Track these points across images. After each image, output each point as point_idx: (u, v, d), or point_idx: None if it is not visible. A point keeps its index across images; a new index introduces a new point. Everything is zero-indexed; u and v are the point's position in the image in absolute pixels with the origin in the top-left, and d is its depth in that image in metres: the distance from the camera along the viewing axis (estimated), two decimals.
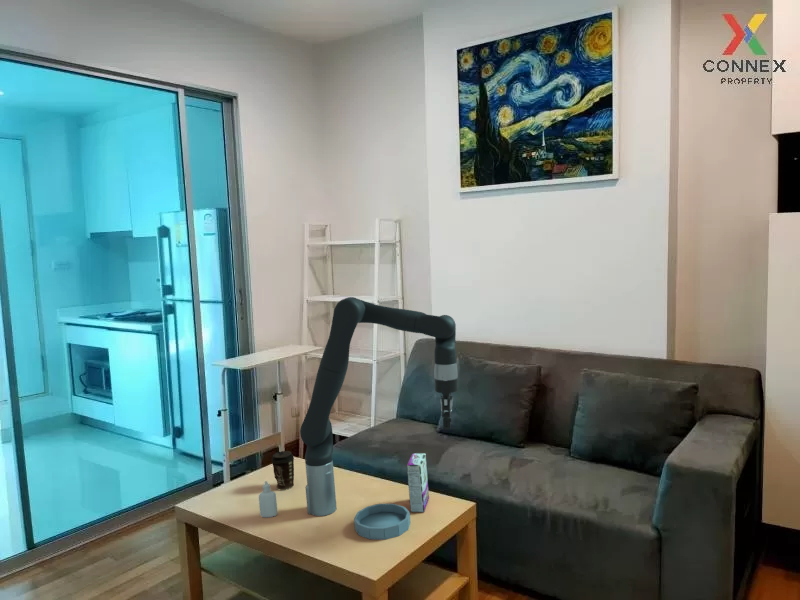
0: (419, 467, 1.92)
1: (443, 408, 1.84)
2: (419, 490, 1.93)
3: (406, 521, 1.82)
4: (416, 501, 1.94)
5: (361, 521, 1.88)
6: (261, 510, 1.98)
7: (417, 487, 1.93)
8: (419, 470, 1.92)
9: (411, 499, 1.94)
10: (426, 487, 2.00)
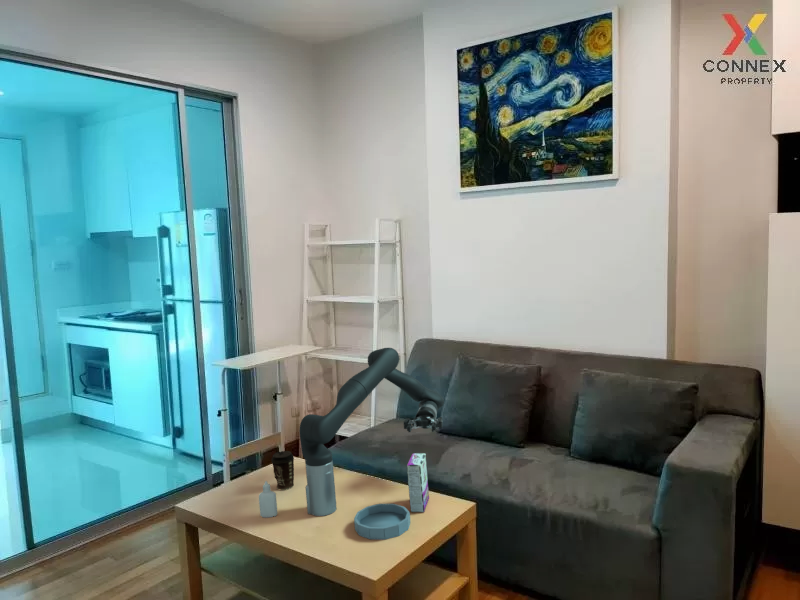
0: (419, 467, 1.92)
1: (441, 420, 2.17)
2: (419, 490, 1.93)
3: (406, 521, 1.82)
4: (416, 501, 1.94)
5: (361, 521, 1.88)
6: (261, 510, 1.98)
7: (417, 487, 1.93)
8: (419, 470, 1.92)
9: (411, 499, 1.94)
10: (426, 487, 2.00)
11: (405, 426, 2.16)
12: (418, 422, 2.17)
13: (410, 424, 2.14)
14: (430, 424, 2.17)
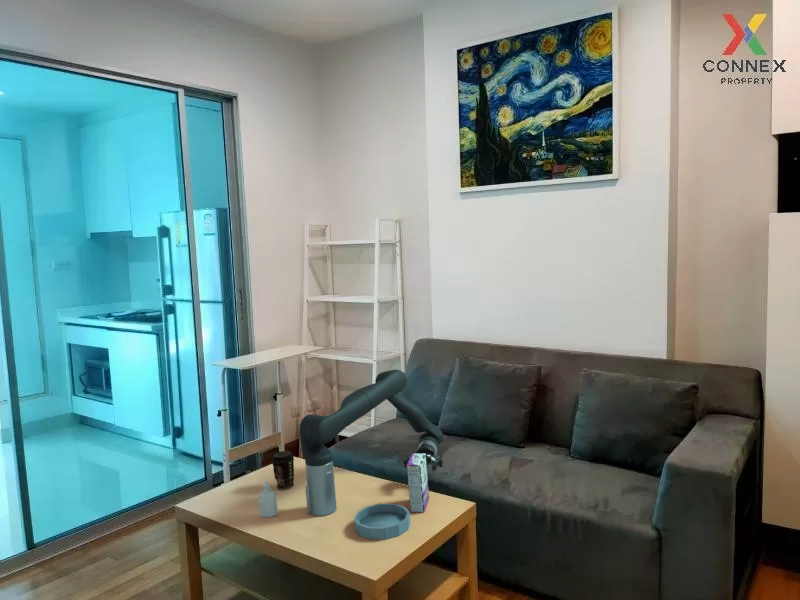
0: (419, 467, 1.92)
1: (442, 458, 2.15)
2: (419, 490, 1.93)
3: (406, 521, 1.82)
4: (416, 501, 1.94)
5: (361, 521, 1.88)
6: (261, 510, 1.98)
7: (417, 487, 1.93)
8: (419, 470, 1.92)
9: (411, 499, 1.94)
10: (426, 487, 2.00)
11: (405, 464, 2.14)
12: None
13: None
14: (430, 462, 2.14)
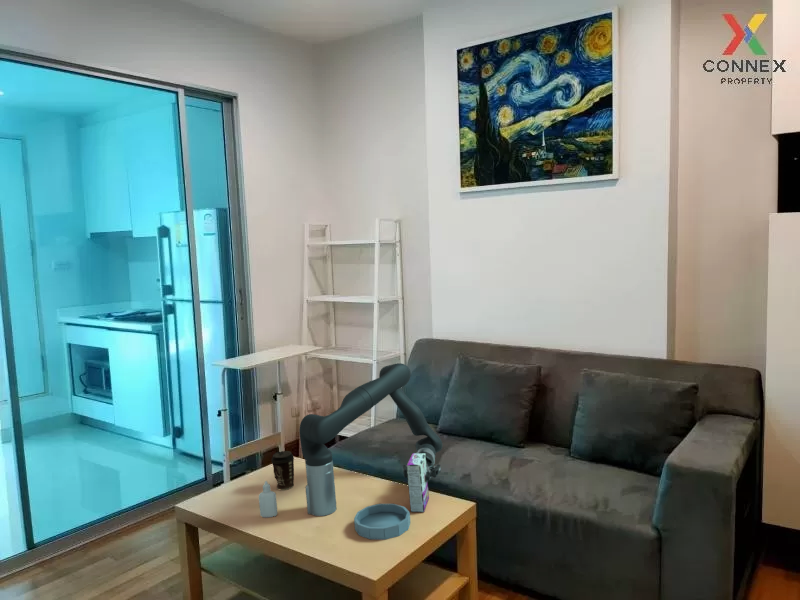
0: (419, 467, 1.92)
1: (438, 468, 2.05)
2: (419, 490, 1.93)
3: (406, 521, 1.82)
4: (416, 501, 1.94)
5: (361, 521, 1.88)
6: (261, 510, 1.98)
7: (417, 487, 1.93)
8: (419, 470, 1.92)
9: (411, 499, 1.94)
10: (426, 487, 2.00)
11: (406, 475, 2.04)
12: None
13: None
14: None
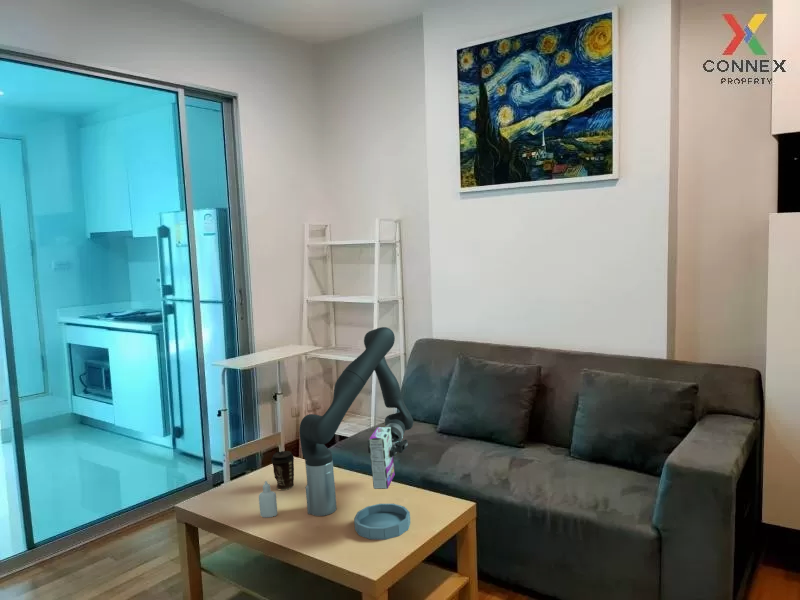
0: (382, 440, 1.80)
1: (404, 443, 1.92)
2: (382, 465, 1.80)
3: (406, 521, 1.82)
4: (379, 477, 1.81)
5: (361, 521, 1.88)
6: (261, 510, 1.98)
7: (380, 462, 1.80)
8: (382, 444, 1.80)
9: (374, 475, 1.81)
10: (391, 463, 1.87)
11: None
12: None
13: None
14: None
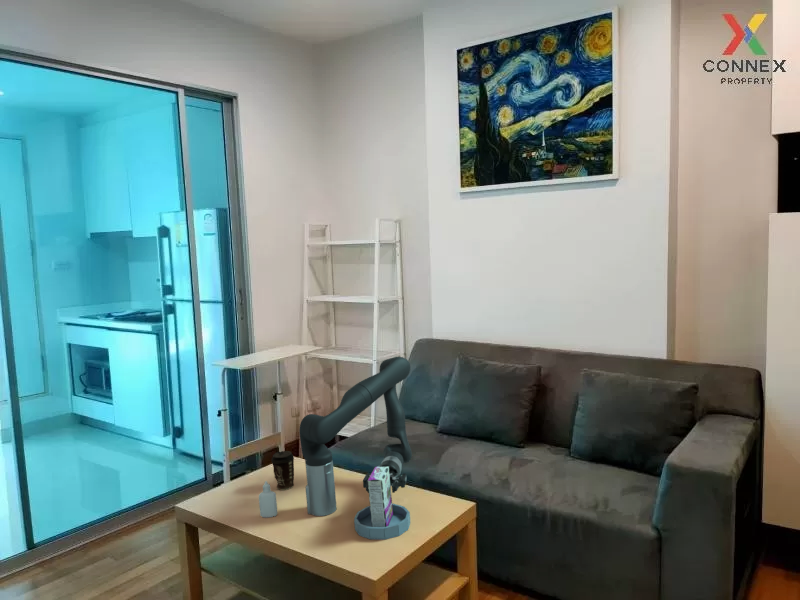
0: (381, 482, 1.79)
1: (405, 478, 1.92)
2: (380, 507, 1.80)
3: (406, 521, 1.82)
4: (378, 519, 1.81)
5: (361, 521, 1.88)
6: (261, 510, 1.98)
7: (379, 503, 1.80)
8: (381, 485, 1.80)
9: (372, 516, 1.81)
10: (389, 503, 1.87)
11: (365, 485, 1.92)
12: None
13: None
14: (392, 482, 1.92)
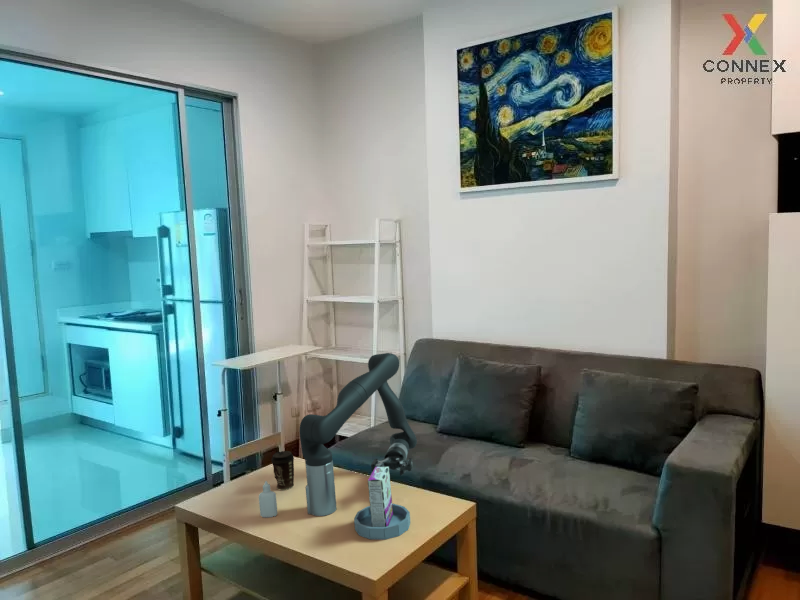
0: (381, 482, 1.79)
1: (411, 462, 2.06)
2: (381, 507, 1.80)
3: (406, 521, 1.82)
4: (378, 519, 1.81)
5: (361, 521, 1.88)
6: (261, 510, 1.98)
7: (379, 503, 1.80)
8: (381, 485, 1.80)
9: (372, 516, 1.81)
10: (389, 503, 1.87)
11: (373, 468, 2.05)
12: (386, 464, 2.06)
13: None
14: (399, 466, 2.06)
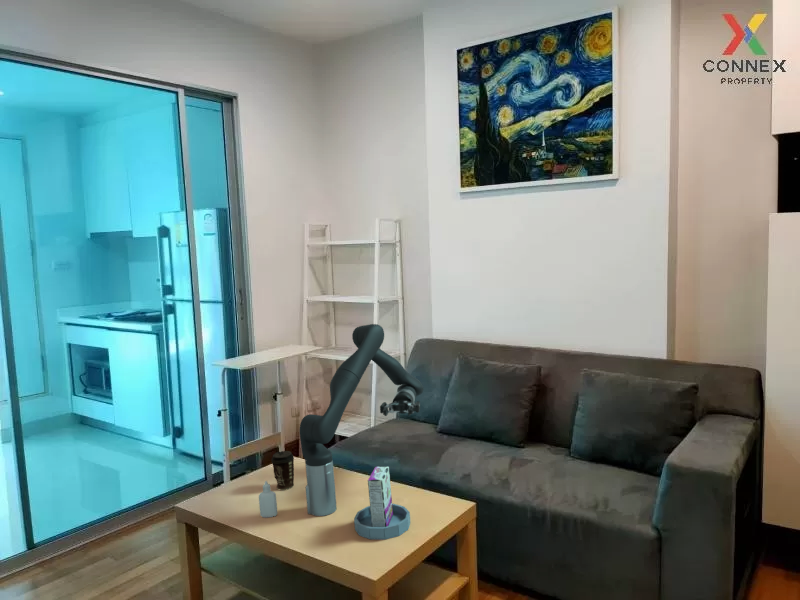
0: (381, 482, 1.79)
1: (419, 404, 2.12)
2: (381, 507, 1.80)
3: (406, 521, 1.82)
4: (378, 519, 1.81)
5: (361, 521, 1.88)
6: (261, 510, 1.98)
7: (379, 503, 1.80)
8: (381, 485, 1.80)
9: (372, 516, 1.81)
10: (389, 503, 1.87)
11: (381, 410, 2.11)
12: (395, 406, 2.12)
13: (386, 408, 2.09)
14: (407, 408, 2.11)
